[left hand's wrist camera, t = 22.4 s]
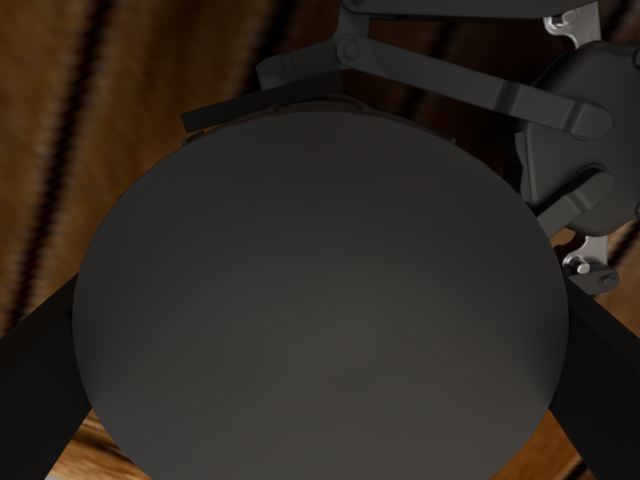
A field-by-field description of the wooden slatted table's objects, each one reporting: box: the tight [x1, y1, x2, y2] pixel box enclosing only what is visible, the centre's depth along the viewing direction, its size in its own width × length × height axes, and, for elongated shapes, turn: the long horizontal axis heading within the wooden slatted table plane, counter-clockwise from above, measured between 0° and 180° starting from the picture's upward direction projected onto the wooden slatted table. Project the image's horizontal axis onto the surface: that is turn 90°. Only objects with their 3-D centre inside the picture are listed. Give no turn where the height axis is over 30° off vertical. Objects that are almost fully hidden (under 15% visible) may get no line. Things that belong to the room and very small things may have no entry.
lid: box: [71, 102, 569, 480], centre depth 11 cm, size 11×11×2 cm
